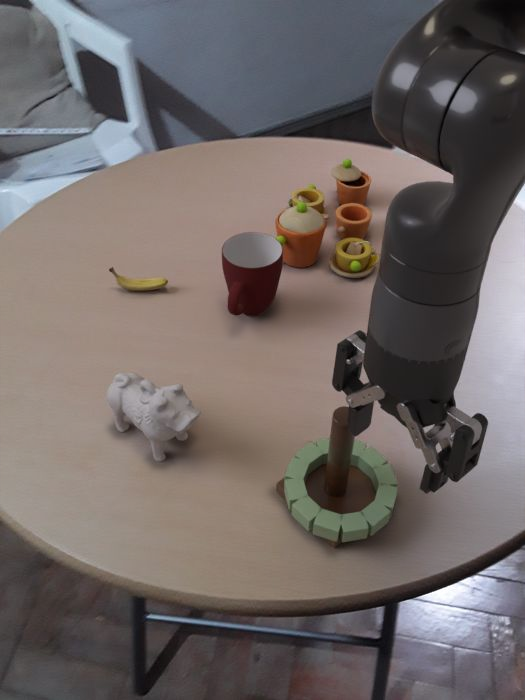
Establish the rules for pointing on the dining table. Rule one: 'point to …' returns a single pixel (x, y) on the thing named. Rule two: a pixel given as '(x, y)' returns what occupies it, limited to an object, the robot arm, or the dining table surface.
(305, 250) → the toy tea set
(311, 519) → the ring
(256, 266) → the mug
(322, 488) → the holder
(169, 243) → the dining table surface
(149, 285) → the banana
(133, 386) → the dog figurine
